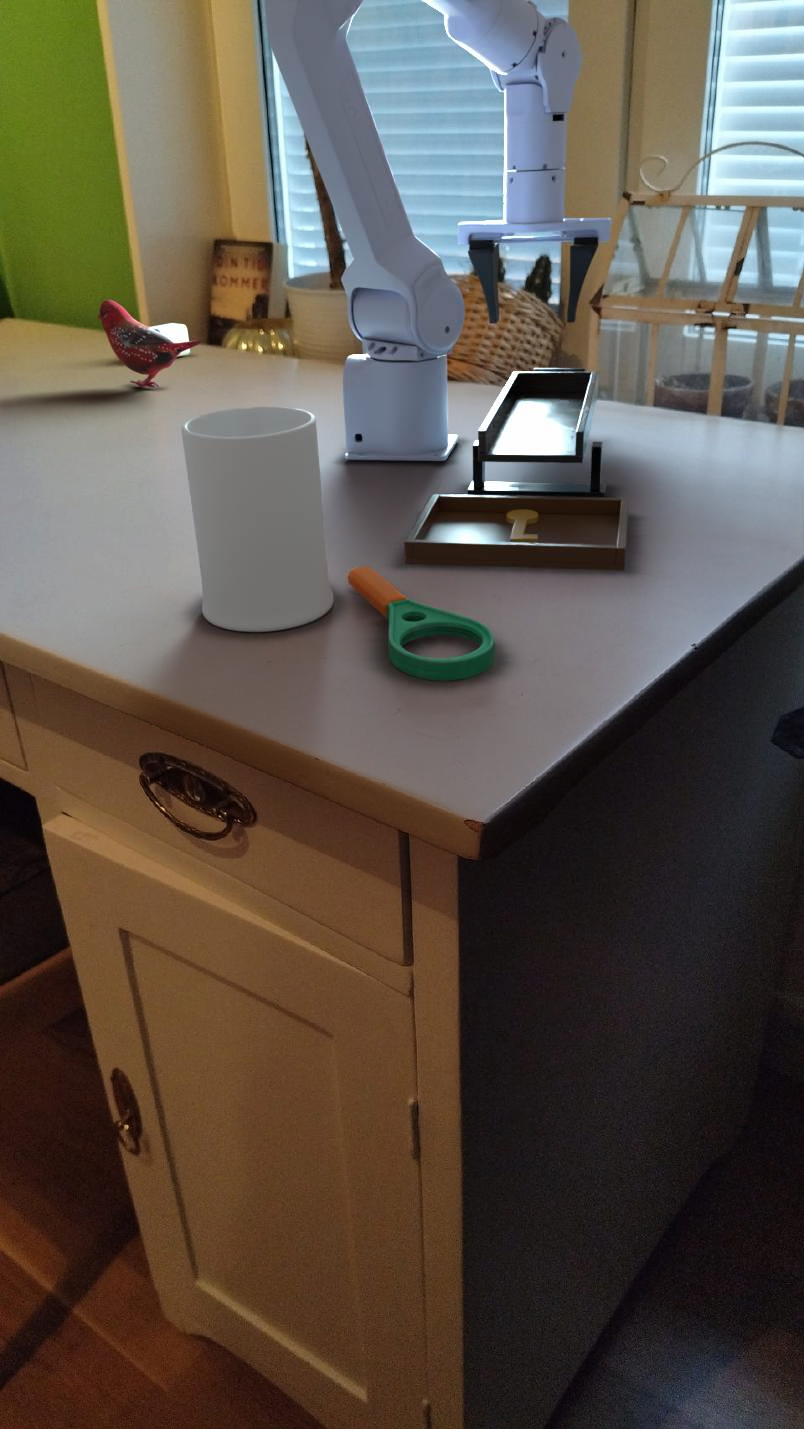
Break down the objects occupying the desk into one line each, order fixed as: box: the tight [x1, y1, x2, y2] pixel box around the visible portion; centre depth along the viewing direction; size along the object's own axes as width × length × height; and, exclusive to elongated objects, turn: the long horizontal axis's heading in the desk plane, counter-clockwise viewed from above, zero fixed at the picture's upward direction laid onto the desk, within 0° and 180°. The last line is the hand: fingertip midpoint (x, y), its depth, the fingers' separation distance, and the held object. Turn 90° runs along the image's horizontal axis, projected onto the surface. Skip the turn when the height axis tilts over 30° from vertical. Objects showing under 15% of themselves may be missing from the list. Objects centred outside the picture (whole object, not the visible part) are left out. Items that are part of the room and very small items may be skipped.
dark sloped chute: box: [477, 367, 599, 464], centre depth 97 cm, size 8×30×2 cm, turn 168°
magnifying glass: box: [347, 565, 496, 682], centre depth 67 cm, size 15×6×2 cm, turn 25°
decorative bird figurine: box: [97, 299, 203, 388], centre depth 132 cm, size 3×18×10 cm, turn 54°
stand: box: [467, 440, 607, 498], centre depth 90 cm, size 11×2×4 cm, turn 79°
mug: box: [180, 406, 335, 633], centre depth 70 cm, size 12×8×12 cm
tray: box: [404, 493, 630, 571], centre depth 81 cm, size 15×11×2 cm
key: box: [507, 509, 538, 543], centre depth 82 cm, size 3×7×1 cm, turn 170°
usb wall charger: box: [149, 322, 191, 358], centre depth 151 cm, size 4×7×4 cm, turn 136°
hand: (532, 321), depth 110 cm, fingers open, 7 cm apart
